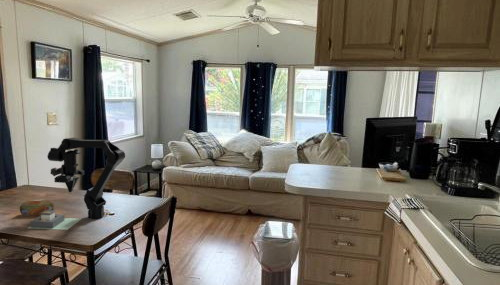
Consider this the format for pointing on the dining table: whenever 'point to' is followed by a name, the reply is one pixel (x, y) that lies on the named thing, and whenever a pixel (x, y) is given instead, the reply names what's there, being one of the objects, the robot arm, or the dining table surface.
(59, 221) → the grey flat square frame
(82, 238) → the dining table surface
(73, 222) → the circuit board
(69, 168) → the robot arm
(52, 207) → the tin
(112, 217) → the dining table surface
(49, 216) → the plug
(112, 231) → the dining table surface
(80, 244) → the dining table surface
